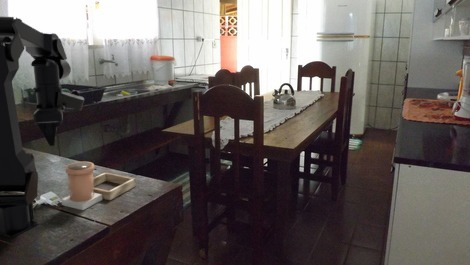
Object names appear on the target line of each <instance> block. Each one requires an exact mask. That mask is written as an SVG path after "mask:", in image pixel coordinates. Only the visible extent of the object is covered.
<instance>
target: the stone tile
mask: <svg viewBox="0 0 470 265" xmlns="http://www.w3.org/2000/svg"><path fill="white" fill-rule="evenodd" d="M102 200H103V199H102V194H99V193H94V197H93V198H92V199H90V200H87V201H82V202H75V201H72V200H70V195H68V196H66V197H63V198H61V205H62V206H65V207H68V208H73V209H76V210H79V211H84V210H86V209H88V208H90V207H92V206H94V205H96V204H97V203H99V202H101V201H102Z"/></svg>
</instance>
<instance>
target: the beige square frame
mask: <svg viewBox="0 0 470 265" xmlns="http://www.w3.org/2000/svg"><path fill="white" fill-rule="evenodd" d="M136 181H137V180H136V178H134V177H130V176H126V175H120V174H115V173H109V172H103V173H101V174H99V175H97V176H93V182H94V193H99V194H102V200H107V201H111V200H114V199H116V198H117V197H118V196H120V195H122V194H124V193H126V192H127V191H130V190H131V189H133V188H135V187H136V186H137V184H136V183H137V182H136ZM105 182H110V183H115V184H119V185H118V186H115V187H113V188H112V189H110V190H107V189H102V188H98V187H97V186H99V185H101V184H103V183H105Z"/></svg>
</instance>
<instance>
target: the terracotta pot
mask: <svg viewBox="0 0 470 265" xmlns="http://www.w3.org/2000/svg"><path fill="white" fill-rule="evenodd" d="M64 168H65V173H66V174H67V181H68V182H67V183H68V194H69V195H68V196H70V200H72V201H75V202H82V201H87V200H90V199H92V198H93V197H94V187H95V186H94V182H93V178H94V170H95V164H94V163H93V162H91V161H75V162H72V163H69V164H67V165H65V166H64Z"/></svg>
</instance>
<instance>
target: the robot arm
mask: <svg viewBox="0 0 470 265" xmlns="http://www.w3.org/2000/svg"><path fill="white" fill-rule="evenodd" d="M24 50H25V52H26V53H27V54H29V55H30V56H31V57H32V58H33V61H31V64H30V66H31V67H33V74H34V85H35V88H34V93H35V95H36V110H35V111H34V113H33V122H34V124H35V125H36V126H37V127H38V129H39V131H40V132H41V134H42V136H43V137H44V139H45V141H46V142H47V143H48V145H49V146H50V147H54V146H55V145H56V137H57V131H58V126H60V125H61V124H62V123H63V119H64V118H63V116H64V115H63V113H64V112H65V107H67V108H70V109H74V110H75V111H82V109H83V105H84V104H85V103H84V102H85V98H84V97H83V96H80V91H79V90H75V89H73V90H72V91H70V92H66V91H63V87H62V86H61V82H60V80H63V79H66V78H68V76H69V75H70V74H71V72H72V71H71V69H72V68H71V65H70V64H69V62H68V61H67V59H68V58H67V54H66V51H65V48H64V46H63V43H62V40H61V38H59V36H58V34H56V33H51V32H42V31H39V30H38V29H36V28H34V27H32V26H30V25H28V24H26V23H25V22H23V20H22V19H21V18H18V17H17V16H16V17H15V16H0V193H1V194H0V235H1V236H5V237H7V238H11V239H13V238H16V237H17V236H19V235H21V234H23V233H25V232H27V231H29V230H31V229H32V228H35V227H36V226H38V225H39V222H38V221H36V220H35V215H34V214H35V213H34V212H35V211H34V204H33V201H35V200H36V198H38V188H39V187H38V185H39V184H38V181H39V174H38V172H37V167H36V164H35V156H34V155H33V153H30V152H29V153H27V152H26V151H25V150H24V149H23V143H22V137H21V130H20V125H19V118H18V112H17V111H18V110H17V105H16V100H15V99H16V98H15V93H14V87H13V86H14V85H13V80H14V78H15V76H16V74H17V73H18V71H19V68H20V63H19V62H20V58H21V56H22V55H23V52H24ZM3 193H4V194H3Z"/></svg>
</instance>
